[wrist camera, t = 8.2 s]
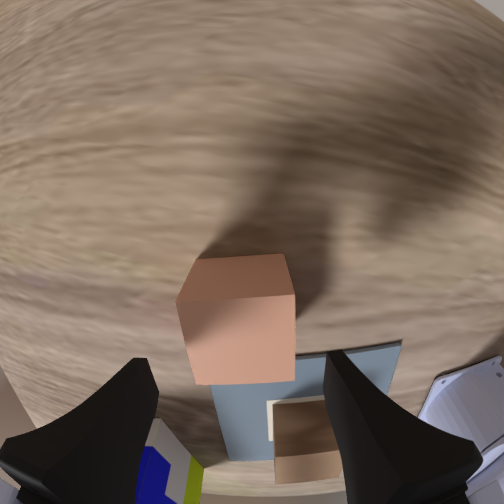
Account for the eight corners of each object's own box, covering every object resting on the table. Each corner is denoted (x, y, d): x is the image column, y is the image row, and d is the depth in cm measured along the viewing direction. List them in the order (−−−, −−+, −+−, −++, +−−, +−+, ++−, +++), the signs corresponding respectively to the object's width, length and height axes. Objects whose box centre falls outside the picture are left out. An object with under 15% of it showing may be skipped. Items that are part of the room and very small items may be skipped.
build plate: (399, 342, 19) (401, 345, 18) (366, 443, 23) (367, 447, 23) (205, 360, 19) (205, 364, 19) (229, 457, 24) (229, 461, 23)
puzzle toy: (160, 417, 22) (134, 512, 12) (204, 468, 25) (194, 543, 16) (82, 417, 23) (48, 488, 13) (130, 465, 26) (112, 528, 17)
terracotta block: (283, 252, 17) (295, 294, 12) (285, 326, 18) (294, 380, 14) (196, 258, 17) (175, 301, 12) (208, 330, 18) (196, 384, 14)
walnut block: (336, 398, 20) (350, 448, 15) (328, 432, 22) (338, 477, 17) (272, 404, 20) (275, 457, 15) (273, 437, 22) (275, 484, 17)
